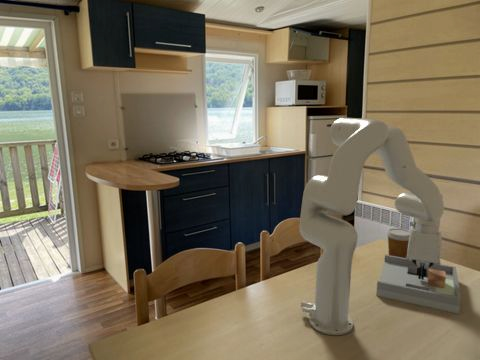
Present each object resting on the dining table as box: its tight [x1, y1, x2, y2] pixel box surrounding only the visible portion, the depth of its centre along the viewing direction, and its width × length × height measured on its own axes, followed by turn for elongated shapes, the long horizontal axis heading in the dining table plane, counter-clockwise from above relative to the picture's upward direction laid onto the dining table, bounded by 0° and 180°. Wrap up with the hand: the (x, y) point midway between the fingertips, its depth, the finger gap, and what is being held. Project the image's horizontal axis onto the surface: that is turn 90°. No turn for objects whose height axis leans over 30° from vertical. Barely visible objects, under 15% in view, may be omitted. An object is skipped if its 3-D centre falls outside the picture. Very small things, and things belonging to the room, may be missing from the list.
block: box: [428, 269, 446, 288], centre depth 126 cm, size 5×5×4 cm
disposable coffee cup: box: [386, 227, 411, 258], centre depth 151 cm, size 10×10×12 cm
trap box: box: [375, 254, 462, 315], centre depth 128 cm, size 24×25×5 cm
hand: (420, 277), depth 128 cm, fingers closed
